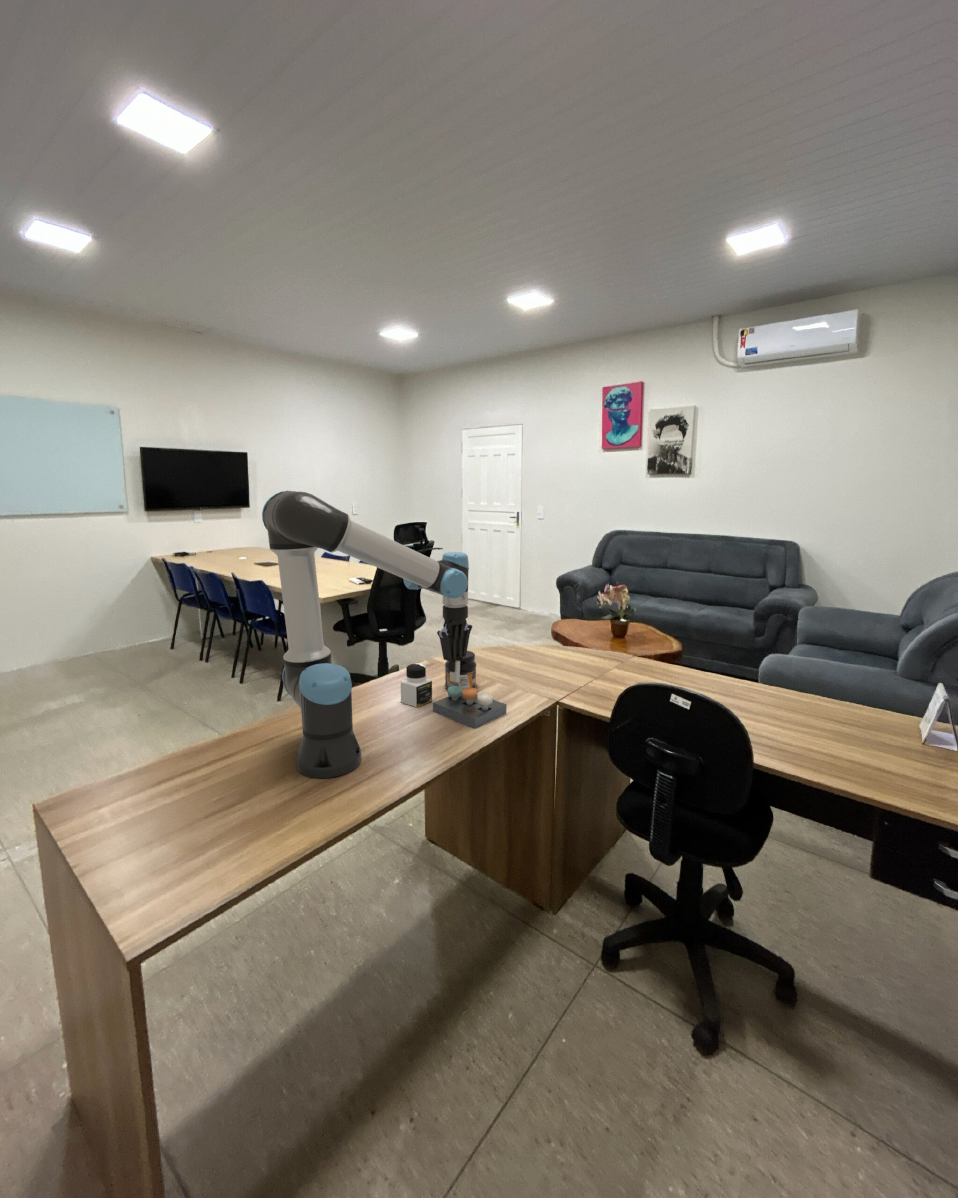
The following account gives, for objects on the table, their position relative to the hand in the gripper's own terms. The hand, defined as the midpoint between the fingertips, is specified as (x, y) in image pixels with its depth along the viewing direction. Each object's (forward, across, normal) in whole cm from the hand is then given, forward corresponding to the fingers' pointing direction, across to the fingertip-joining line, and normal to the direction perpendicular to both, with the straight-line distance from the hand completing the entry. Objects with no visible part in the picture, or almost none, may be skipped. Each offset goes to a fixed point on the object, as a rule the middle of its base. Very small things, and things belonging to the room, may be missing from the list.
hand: (454, 681), depth 162 cm
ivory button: (+6, 0, -12) cm, 13 cm away
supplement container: (+9, +13, +10) cm, 19 cm away
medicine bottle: (+9, -5, +12) cm, 16 cm away
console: (+9, 0, -6) cm, 10 cm away
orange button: (+6, 0, -6) cm, 9 cm away
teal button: (+7, 0, 0) cm, 7 cm away
